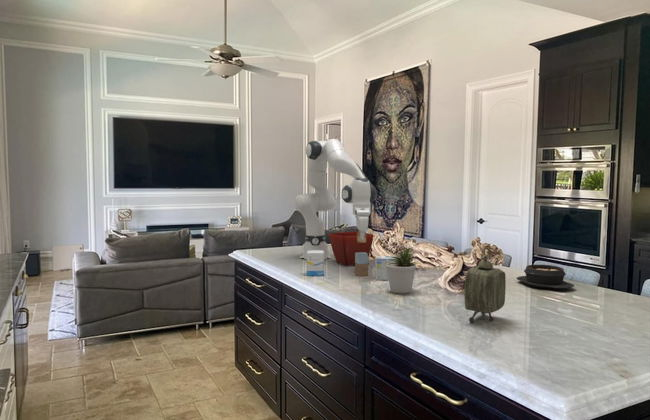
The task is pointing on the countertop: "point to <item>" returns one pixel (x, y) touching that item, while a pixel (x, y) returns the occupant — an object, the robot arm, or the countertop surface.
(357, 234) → the brown cylinder
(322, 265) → the ink box
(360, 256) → the tower top
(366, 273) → the tower base
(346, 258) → the plant pot
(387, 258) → the light bulb box
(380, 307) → the countertop surface
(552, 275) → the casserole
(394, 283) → the potted plant
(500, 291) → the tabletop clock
